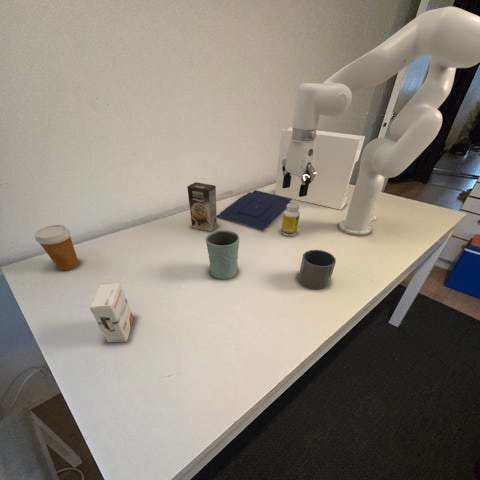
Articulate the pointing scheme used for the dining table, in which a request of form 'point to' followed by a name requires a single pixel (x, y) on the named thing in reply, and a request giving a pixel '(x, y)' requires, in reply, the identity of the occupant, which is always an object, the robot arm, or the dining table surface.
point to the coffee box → (202, 206)
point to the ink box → (112, 312)
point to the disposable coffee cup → (58, 246)
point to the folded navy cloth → (256, 209)
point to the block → (323, 168)
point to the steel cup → (316, 269)
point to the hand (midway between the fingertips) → (294, 191)
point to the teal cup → (223, 253)
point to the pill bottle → (290, 219)
